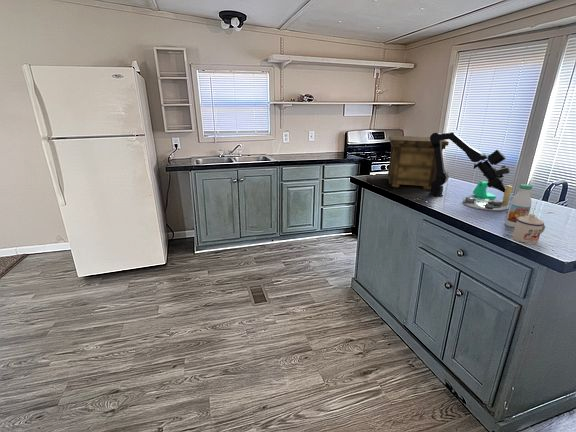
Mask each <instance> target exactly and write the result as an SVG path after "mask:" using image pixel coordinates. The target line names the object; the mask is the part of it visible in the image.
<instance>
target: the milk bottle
mask: <svg viewBox="0 0 576 432" xmlns="http://www.w3.org/2000/svg"><path fill="white" fill-rule="evenodd" d="M518 189H519V190H518V192H517V193H516V194H515V195H514V196H513V198H512V199H511V201H510V204H509V207H508V208H509V209H508V212H507V215H506V219H505V225H506V226H507V227H510V228H513V229H515V226H516V223H517V218H518V217H521V216H529V214H530V211H531V207H532V197H531V191H532V189H533V185H531V184H527V183H526V184H525V183H522V184H519V188H518Z"/></svg>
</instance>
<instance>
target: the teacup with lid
mask: <svg viewBox="0 0 576 432" xmlns="http://www.w3.org/2000/svg"><path fill="white" fill-rule="evenodd" d="M545 230H546V226H545V222H544V220H542V219H540V218H538V217H537V216H536V214H534V213H529V215H528V216H521V217H518V218H517V223H516V226H515V228H514V231H513V234H512V238H514V239H513V240H515V239H516V240H518V241H517V242H519V241H521V242H520V243H522V242H525V243H524V244H526V243H536V244H537V243H538V242H539V239H540V236H541V234H543V233H544V232H545ZM516 240H515V241H516Z"/></svg>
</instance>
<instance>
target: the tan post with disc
mask: <svg viewBox="0 0 576 432" xmlns="http://www.w3.org/2000/svg"><path fill="white" fill-rule="evenodd" d="M512 190H513V186H512V185H509V184H508V185H505V192H503V195H502V196H503V197H502V200H497V199H489V200H488V201H483V202H487V203H488V204H493V205H497V206H501V205H503V206H507V207H508V206H509V202H510V199H511V194H512Z"/></svg>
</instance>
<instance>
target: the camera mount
mask: <svg viewBox="0 0 576 432" xmlns="http://www.w3.org/2000/svg"><path fill="white" fill-rule="evenodd" d="M487 184H488V181H479V182H478V184H477V185H476V187H475V188H474V189H473V191H472V194H473V195H474V196H475V198H482V199H489V200H496V198H497V195H495V194H492V193H489V192H487V188H489V187H488V185H487Z"/></svg>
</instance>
